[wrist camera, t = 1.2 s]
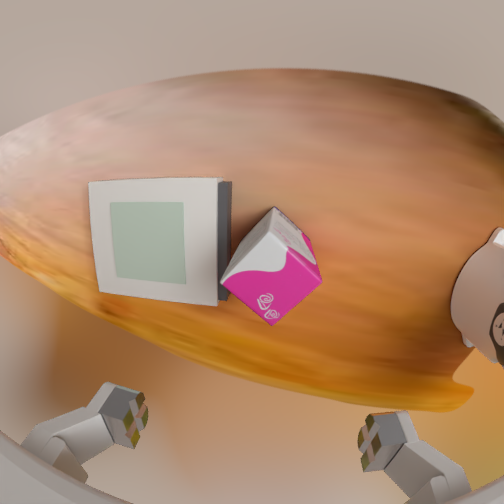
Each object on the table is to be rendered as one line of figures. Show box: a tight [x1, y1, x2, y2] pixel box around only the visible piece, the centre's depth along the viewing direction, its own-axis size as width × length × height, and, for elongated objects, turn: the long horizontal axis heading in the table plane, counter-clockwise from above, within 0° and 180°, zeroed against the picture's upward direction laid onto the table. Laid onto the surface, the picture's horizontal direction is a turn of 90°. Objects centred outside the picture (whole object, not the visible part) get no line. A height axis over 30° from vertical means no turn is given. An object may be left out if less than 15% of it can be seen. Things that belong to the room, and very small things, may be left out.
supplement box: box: [220, 206, 322, 326], centre depth 26 cm, size 6×6×12 cm
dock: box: [88, 177, 232, 306], centre depth 31 cm, size 17×14×3 cm
